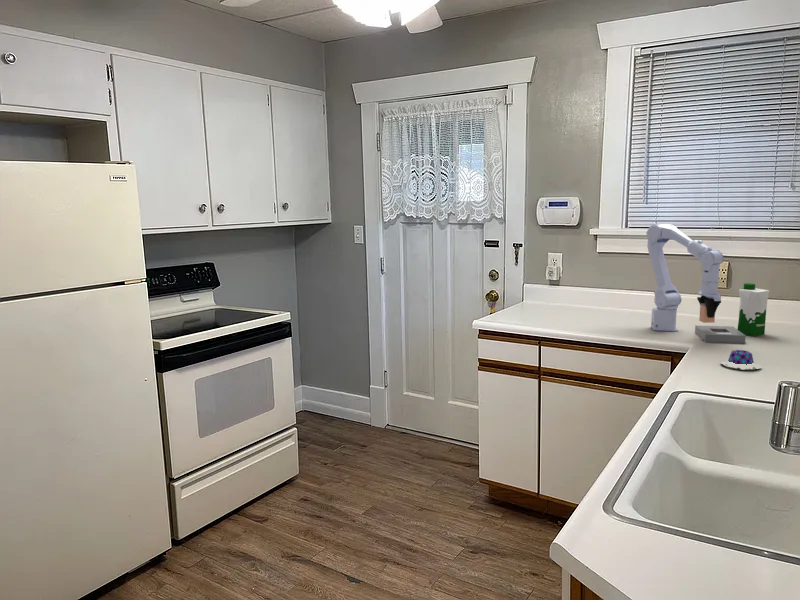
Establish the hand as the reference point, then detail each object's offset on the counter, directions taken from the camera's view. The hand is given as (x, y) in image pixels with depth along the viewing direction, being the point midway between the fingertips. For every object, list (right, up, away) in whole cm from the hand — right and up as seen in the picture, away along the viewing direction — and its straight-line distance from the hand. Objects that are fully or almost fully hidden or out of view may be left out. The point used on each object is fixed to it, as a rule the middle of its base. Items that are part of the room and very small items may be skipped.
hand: (707, 316), depth 237 cm
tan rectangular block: (0, -2, 0) cm, 2 cm away
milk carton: (+21, -7, +7) cm, 23 cm away
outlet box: (+5, -9, +1) cm, 10 cm away
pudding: (-8, -16, -37) cm, 41 cm away
